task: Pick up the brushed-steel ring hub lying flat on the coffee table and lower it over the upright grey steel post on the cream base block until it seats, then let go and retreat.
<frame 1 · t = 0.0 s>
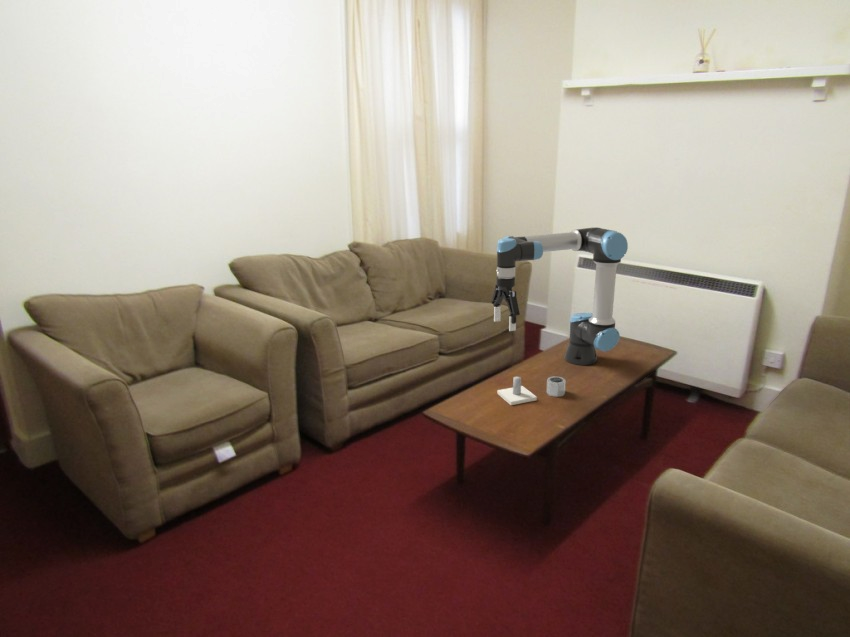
hand: (504, 325, 238), 28 cm above the table, fingers open, 13 cm apart
hub: (555, 392, 239), on the table
post: (516, 396, 236), on the table
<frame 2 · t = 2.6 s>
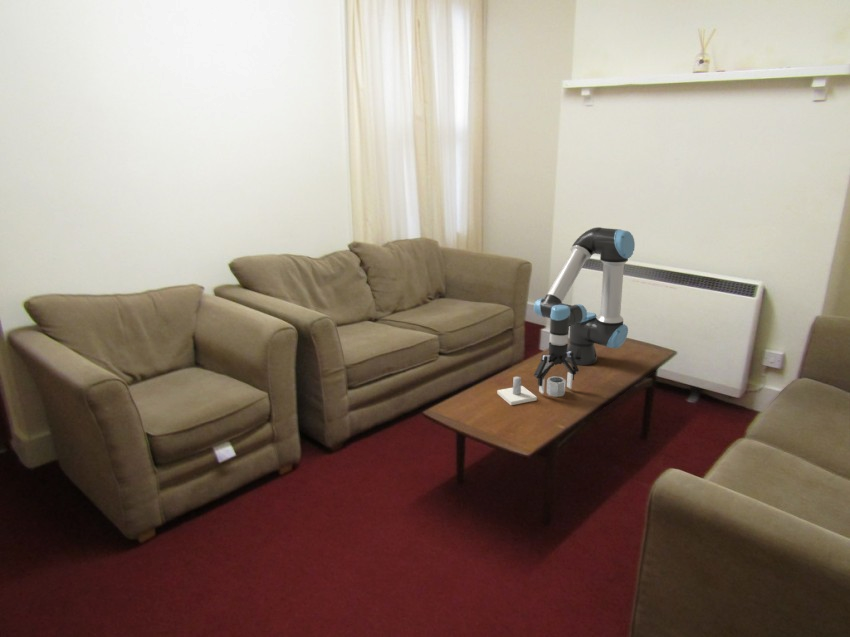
hand: (555, 390, 239), 1 cm above the table, fingers open, 13 cm apart
nothing on the table moved.
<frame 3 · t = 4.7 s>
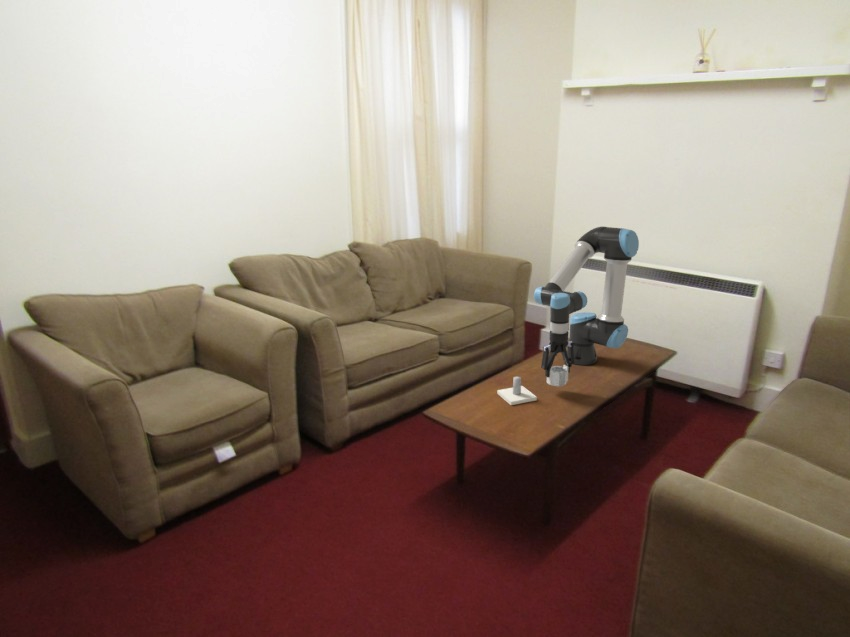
hand: (557, 381, 238), 5 cm above the table, fingers closed on hub, 7 cm apart
hub: (557, 382, 238), point 5 cm above the table, touching gripper
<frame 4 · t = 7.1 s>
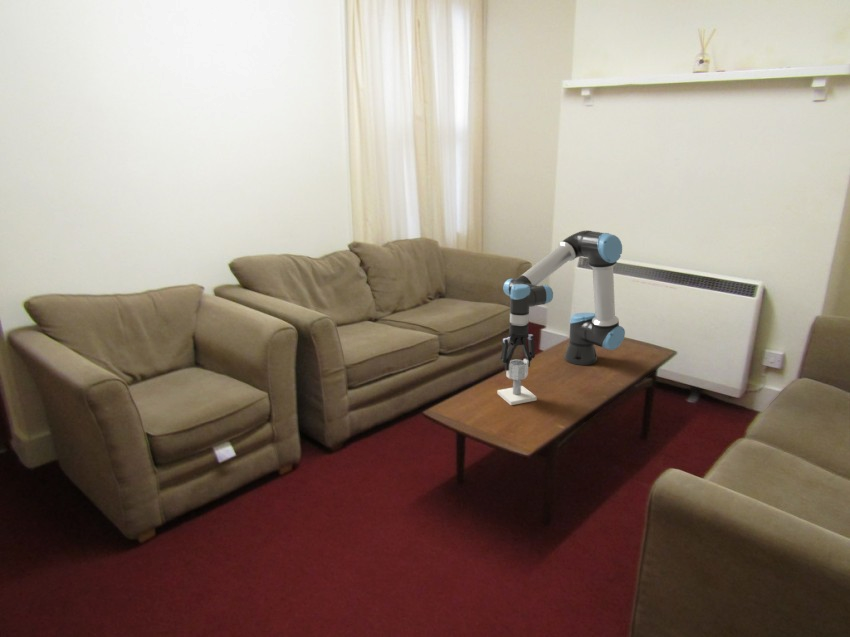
hand: (517, 375, 233), 10 cm above the table, fingers closed on hub, 7 cm apart
hub: (517, 376, 233), point 9 cm above the table, touching gripper
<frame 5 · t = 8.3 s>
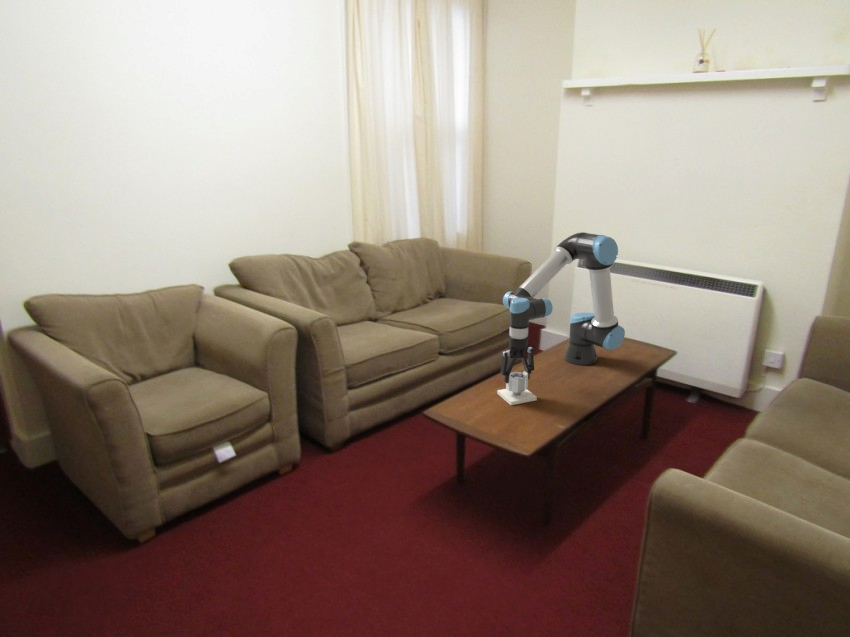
hand: (516, 388, 235), 4 cm above the table, fingers closed on hub, 7 cm apart
hub: (516, 388, 235), point 4 cm above the table, touching gripper
when the fingers open (2 cm above the table, at t = 9.5 s): hub stays where it is, resting on post.
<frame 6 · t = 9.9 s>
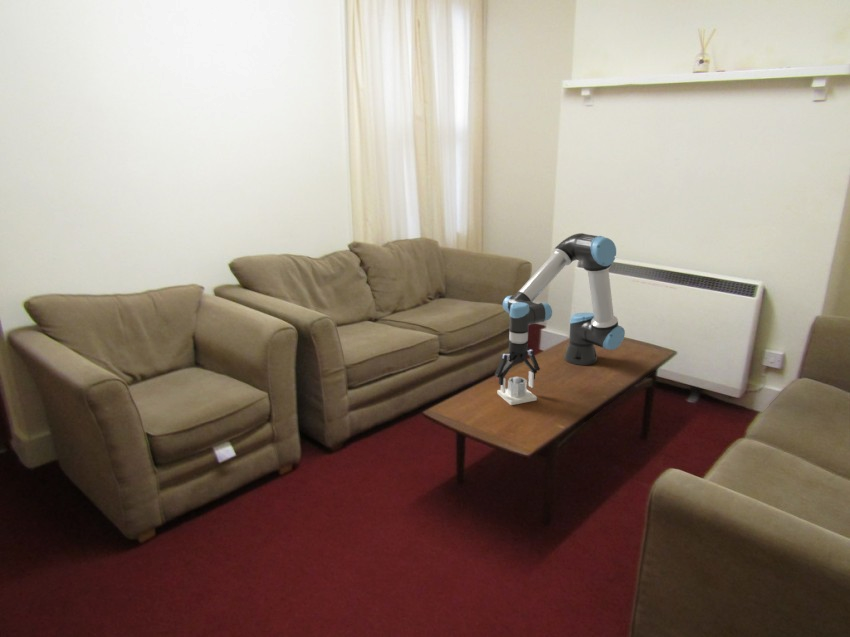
hand: (516, 389, 235), 4 cm above the table, fingers open, 12 cm apart
hub: (517, 393, 236), point 1 cm above the table, touching post
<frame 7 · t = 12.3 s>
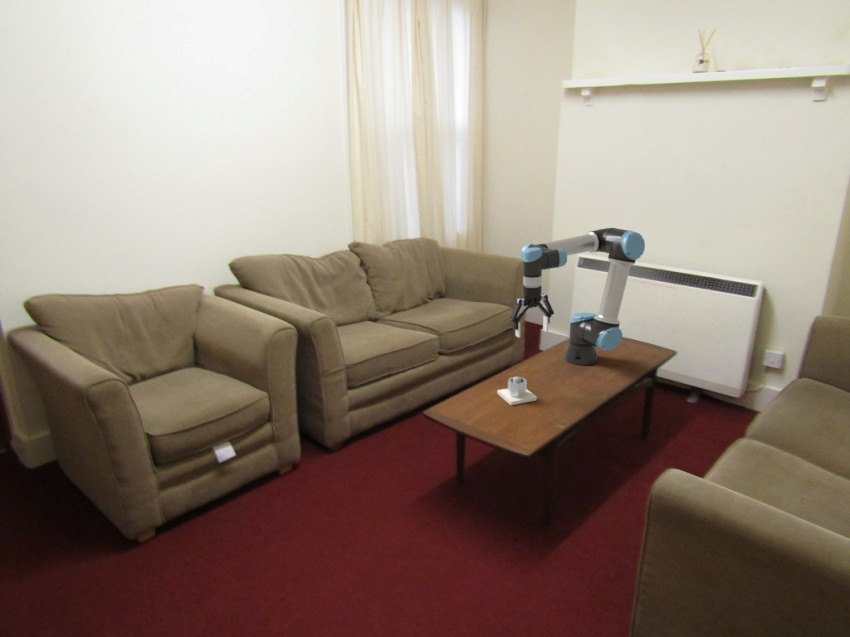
hand: (531, 333, 240), 24 cm above the table, fingers open, 13 cm apart
nothing on the table moved.
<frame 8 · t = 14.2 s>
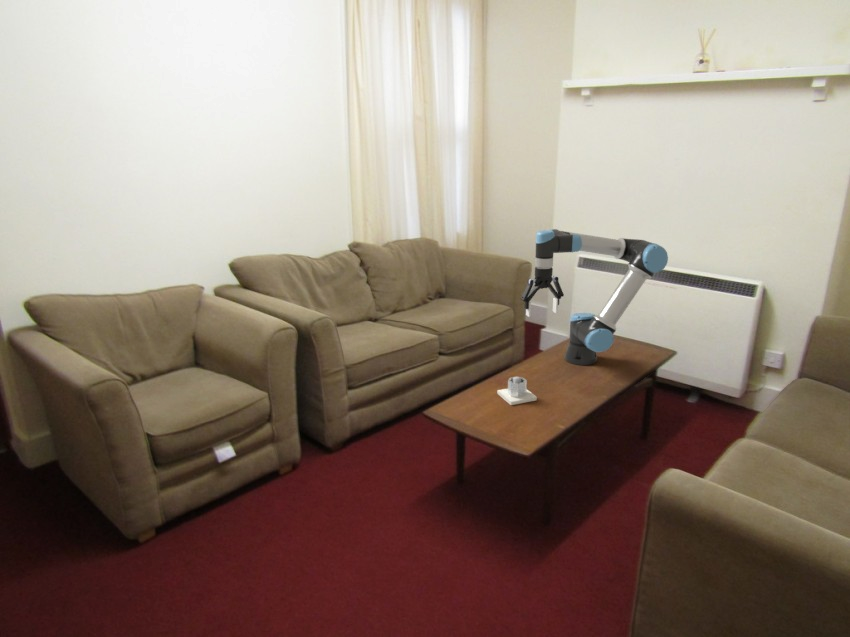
hand: (541, 314, 250), 29 cm above the table, fingers open, 13 cm apart
nothing on the table moved.
at the end: hub 0.1 cm off-centre on the post, point 1.5 cm above the post's base; hub tilted 0°; the gripper is holding nothing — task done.
